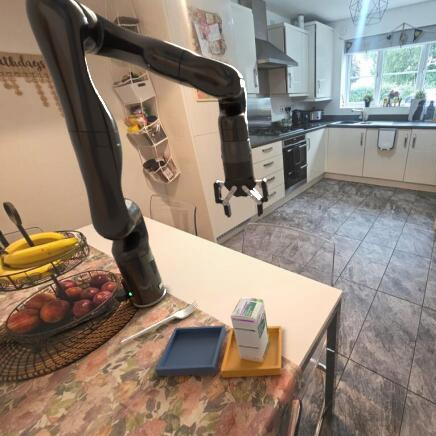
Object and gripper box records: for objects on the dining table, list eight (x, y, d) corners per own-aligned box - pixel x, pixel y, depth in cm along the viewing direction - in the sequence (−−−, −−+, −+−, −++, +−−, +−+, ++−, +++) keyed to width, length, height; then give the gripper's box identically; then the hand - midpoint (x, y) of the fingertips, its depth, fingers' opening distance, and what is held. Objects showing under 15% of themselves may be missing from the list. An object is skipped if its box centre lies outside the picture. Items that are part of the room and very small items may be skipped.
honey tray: (222, 377, 55) (220, 371, 54) (232, 334, 65) (230, 328, 64) (281, 374, 55) (280, 368, 54) (281, 332, 65) (281, 325, 64)
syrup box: (263, 363, 57) (256, 319, 50) (239, 359, 58) (229, 315, 51) (269, 342, 62) (264, 298, 55) (247, 338, 63) (240, 295, 56)
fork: (121, 340, 64) (118, 335, 64) (196, 303, 75) (195, 299, 74) (122, 349, 62) (119, 344, 61) (200, 310, 73) (198, 305, 72)
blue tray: (157, 376, 55) (154, 369, 54) (177, 333, 66) (175, 327, 64) (215, 373, 56) (213, 366, 54) (226, 331, 66) (224, 325, 65)
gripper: (266, 154, 65) (270, 209, 72) (213, 155, 65) (222, 211, 72) (264, 160, 58) (268, 221, 65) (204, 162, 58) (215, 222, 65)
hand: (244, 215), depth 69 cm, fingers open, 8 cm apart
